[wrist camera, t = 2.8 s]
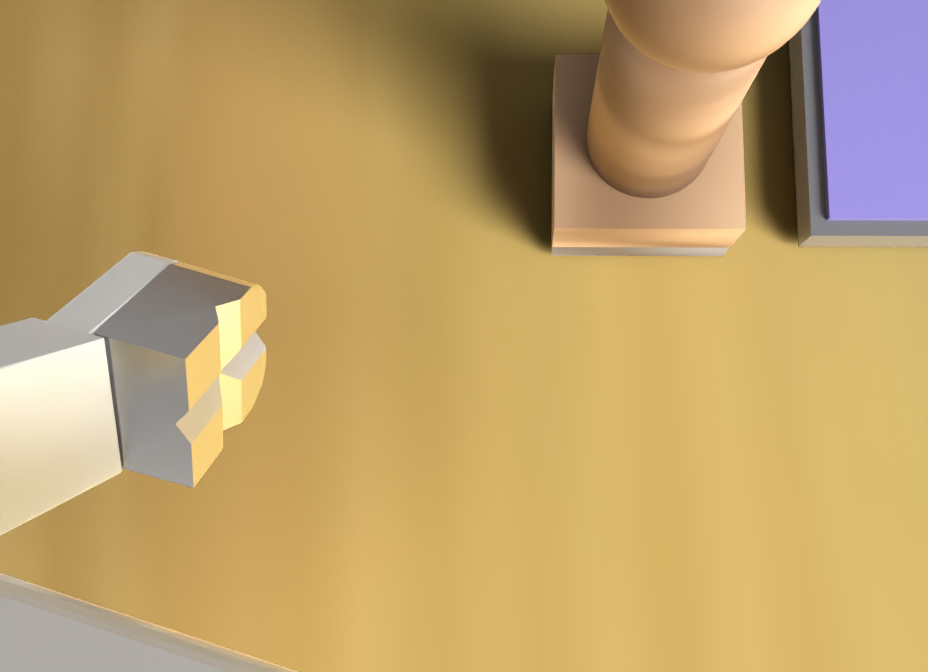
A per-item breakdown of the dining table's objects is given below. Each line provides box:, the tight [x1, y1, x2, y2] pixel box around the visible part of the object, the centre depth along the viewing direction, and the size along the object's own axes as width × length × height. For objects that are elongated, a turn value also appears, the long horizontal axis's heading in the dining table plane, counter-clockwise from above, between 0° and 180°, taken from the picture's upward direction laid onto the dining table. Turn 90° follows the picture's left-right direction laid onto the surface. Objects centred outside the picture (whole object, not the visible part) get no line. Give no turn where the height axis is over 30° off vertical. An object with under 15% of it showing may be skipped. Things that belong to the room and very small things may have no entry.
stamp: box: [551, 0, 821, 256], centre depth 17 cm, size 4×4×11 cm
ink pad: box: [789, 0, 928, 247], centre depth 22 cm, size 6×8×1 cm
